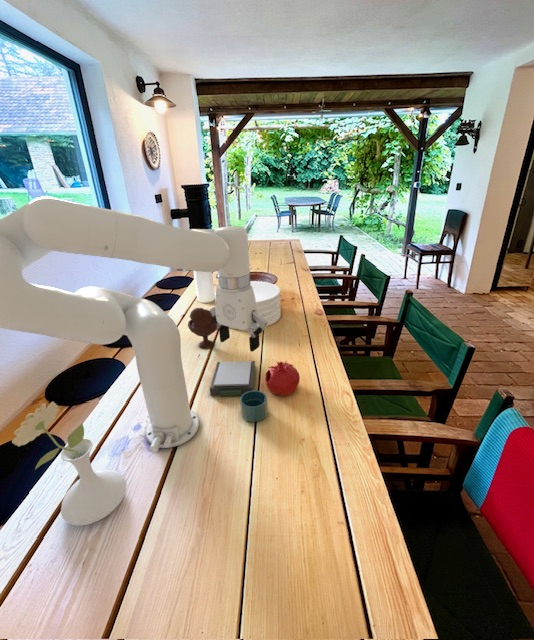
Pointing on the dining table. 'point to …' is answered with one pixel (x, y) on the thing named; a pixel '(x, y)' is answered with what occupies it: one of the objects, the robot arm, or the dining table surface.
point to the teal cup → (254, 406)
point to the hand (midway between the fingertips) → (239, 344)
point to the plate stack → (266, 301)
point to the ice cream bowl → (202, 325)
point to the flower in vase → (93, 486)
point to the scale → (233, 378)
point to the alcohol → (204, 286)
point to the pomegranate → (282, 379)
